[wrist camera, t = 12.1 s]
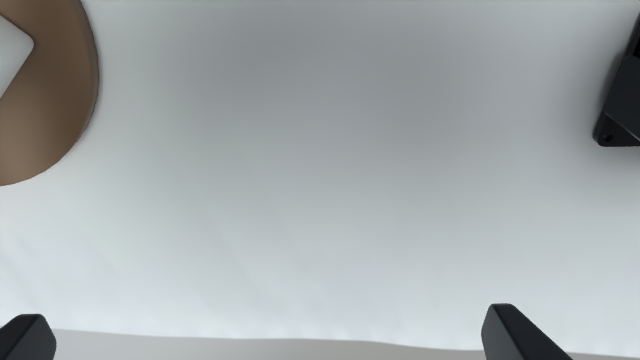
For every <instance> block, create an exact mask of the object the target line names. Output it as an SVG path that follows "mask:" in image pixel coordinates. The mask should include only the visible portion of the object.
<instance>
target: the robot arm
mask: <svg viewBox="0 0 640 360" xmlns="http://www.w3.org/2000/svg"><path fill="white" fill-rule="evenodd" d="M608 133H609V134H608ZM606 134H608V136H606V137H605V138H603V137H604V136H605V135H606ZM593 139H594V141H596V142H597V143H598V144H599V145H600V146H603V147H625V146H640V20H639V23H638V25H637V28H636V30H635V33H634V35H633V37H632V40H631V42H630V45H629V47H628V50H627V52H626V55H625V57H624V59H623V61H622V64H621V66H620V68H619V71H618V73H617V76H616V78H615V81H614V83H613V86H612V88H611V91H610V93H609V96H608V98H607V101H606V103H605V106H604V108H603V112H602V114H601V117H600V119H599V122H598V124H597V127H596V129H595V132H594V135H593ZM481 337H482V343H483V347H484V351H485V355H486V359H487V360H573V359H572V358H571V357H569V356H568V355H567V354H566V353H565V352H564V351H563V350H562V349H561V348H560V347H559V346H558V345H556V344H555V343H554V342H553V341H552V340H551V339H550V338H549V337H548V336H547V335H545V334H544V333H543V332H542V331H541V330H540V329H539V328H538V327H537V326H536V325H535V324H533V323H532V322H531V321H530V320H529V319H528V318H527V317H526V316H525V315H524V314H523V313H521V312H520V311H519V310H518V309H517V308H516V307H515V306H513V305H512V304H508V303H499V304H491V305H490V306H489V308H488V311H487V314H486V317H485V320H484V323H483V326H482V330H481ZM55 351H56V339H55V336H54V334H53V332H52V330H51V329H50V327H49V325H48V323H47V321H46V319H45V317H44V316H43V315H41V314H21V315H18V316H16V317H15V318H13V319H12V320H11V321H9V322H8V323H7V324H6V325H4V326H3V327H2V328H0V360H53V358H54V355H55Z"/></svg>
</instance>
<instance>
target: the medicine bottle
mask: <svg viewBox="0 0 640 360" xmlns="http://www.w3.org/2000/svg"><path fill="white" fill-rule="evenodd" d="M33 46H34V42H33V40H32V38H31V37H30V36H29V35H27V34H26V33H24V32H23V31H22V30H20V29H19V28H17V27H16V26H15V25H13V24H12V23H11V22H9V21H8V20H6V19H5V18H4V17H2V16H1V15H0V98H1V97H2V95H3V94H4V92H5V91H6V89H7V87H8V86H9V84H10V83H11V81H12V80H13V78H14V77H15V75H16V74H17V72H18V71H19V69H20V68H21V66H22V65H23V63H24V62H25V60H26V58H27V57H28V55H29V54H30V52H31V51H32V49H33Z"/></svg>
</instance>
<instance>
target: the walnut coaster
mask: <svg viewBox="0 0 640 360" xmlns="http://www.w3.org/2000/svg"><path fill="white" fill-rule="evenodd" d="M0 15H1V16H2V17H4V18H5V19H6V20H8V21H9V22H11V23H12V24H13V25H15V26H16V27H17V28H19V29H20V30H22V31H23V32H24V33H26V34H27V35H29V36H30V37H31V38H32V40H33V42H34V46H33V49H32V51H31V52H30V54H29V55H28V57H27V58H26V60H25V62H24V63H23V65H22V66H21V68H20V69H19V71H18V72H17V74H16V75H15V77H14V78H13V80H12V81H11V83H10V84H9V86H8V87H7V89H6V91H5V92H4V94H3V95H2V97H1V98H0V186H5V185H10V184H15V183H18V182H21V181H24V180H27V179H30V178H32V177H34V176H36V175H38V174H40V173H42V172H44V171H46V170H47V169H49V168H50V167H51V166H53V165H54V164H56V163H57V162H58V161H59V160H60V159H61V158H62V157H63V156H64V155H65V154H66V153H67V152H68V151H69V150H70V149H71V147H72V146H73V145H74V144H75V143H76V141H77V140H78V139H79V137H80V136H81V135H82V133H83V132H84V130H85V129H86V127H87V125H88V123H89V120H90V118H91V116H92V114H93V111H94V107H95V103H96V99H97V94H98V80H99V72H98V58H97V52H96V47H95V43H94V38H93V34H92V31H91V28H90V25H89V22H88V19H87V16H86V13H85V11H84V8H83V6H82V4H81V2H80V0H0Z"/></svg>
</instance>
